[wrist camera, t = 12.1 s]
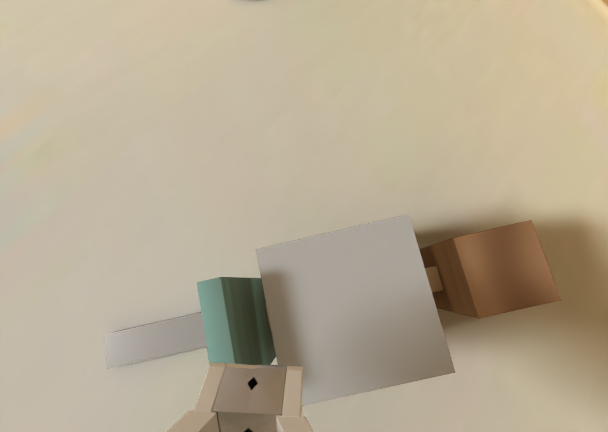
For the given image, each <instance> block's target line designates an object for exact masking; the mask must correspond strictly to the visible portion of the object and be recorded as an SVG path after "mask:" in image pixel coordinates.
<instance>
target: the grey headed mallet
mask: <svg viewBox="0 0 608 432" xmlns="http://www.w3.org/2000/svg"><path fill="white" fill-rule="evenodd" d="M256 253H257V258H258V263H259V269H260V274H261V279H262V284H263V289H264V295H265V300H266V305H267V310H268V315H269V321H270V326H271V331H272V336H273V341H274V347H275V352H276V357H277V362H278V365H285V366H300V367H303V390H302V406H303V405H308V404H312V403H317V402H322V401H326V400H331V399H335V398H340V397H345V396H349V395H354V394H358V393H363V392H368V391H372V390H377V389H381V388H386V387H390V386H395V385H400V384H404V383H409V382H413V381H418V380H423V379H427V378H432V377H436V376H441V375H446V374H450V373H455V369H454V366H453V363H452V359H451V356H450V352H449V349H448V346H447V342H446V339H445V335H444V332H443V329H442V325H441V322H440V318H439V315H438V312H437V308H436V305H435V301H434V298H433V295H432V291H431V288H430V284H429V281H428V278H427V274H426V271H425V267H424V264H423V261H422V257H421V254H420V250H419V247H418V244H417V240H416V237H415V233H414V230H413V226H412V223H411V220H410V216H409V214H407V215H403V216H398V217H394V218H390V219H385V220H381V221H377V222H372V223H368V224H364V225H359V226H355V227H351V228H346V229H342V230H337V231H333V232H329V233H324V234H320V235H316V236H311V237H307V238H303V239H298V240H294V241H290V242H285V243H281V244H277V245H272V246H268V247H264V248H259V249H256ZM104 344H105V354H106V365H107V369H109V368H114V367H118V366H123V365H127V364H131V363H136V362H140V361H145V360H149V359H154V358H158V357H163V356H167V355H172V354H176V353H181V352H185V351H190V350H194V349H198V348H203V347H207V345H206V338H205V331H204V325H203V318H202V312H201V313H196V314H192V315H187V316H183V317H179V318H174V319H170V320H165V321H161V322H156V323H152V324H148V325H143V326H139V327H134V328H130V329H126V330H121V331H117V332H112V333H108V334H104Z"/></svg>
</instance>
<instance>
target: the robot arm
mask: <svg viewBox="0 0 608 432" xmlns="http://www.w3.org/2000/svg"><path fill="white" fill-rule="evenodd" d="M302 390H303V367H300V366H285V365H245V364H232V363H215V362H212V363H211V364H210V366H209V367H208V370H207V373H206V376H205V379H204V382H203V385H202V387H201V390H200V393H199V396H198V399H197V402H196V405H195V407H194V410H193V411H188V412H187V413H186V414H185V415H184V416H183V417H182V418H181V419H180V420H179V421H178V422H176V423H175V424H174V425H173V426H172V427H171V428H170V429H169V430H168V431H167V432H313V430H312V428H311V426H310V425H309V423H308V421H307V419H306V417H302Z"/></svg>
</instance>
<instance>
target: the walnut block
mask: <svg viewBox="0 0 608 432" xmlns="http://www.w3.org/2000/svg"><path fill="white" fill-rule="evenodd" d="M419 250H420V254H421V257H422V261H423V264H424V267H425V268H428V267H436V266H437V270H438V273H439V276H440V280H441V283H442V286H443V290H441V291H437V292H432V295H433V298H434V301H435V305H436V308H440V309H444V310H448V311H452V312H456V313H460V314H464V315H468V316H472V317H476V318H483V317H487V316H491V315H496V314H500V313H505V312H509V311H514V310H518V309H523V308H527V307H532V306H536V305H541V304H545V303H550V302H554V301H558V300H561V298H560V296H559V293H558V290H557V288H556V285H555V282H554V279H553V277H552V274H551V271H550V269H549V266H548V263H547V261H546V258H545V255H544V253H543V250H542V247H541V245H540V242H539V239H538V237H537V234H536V231H535V229H534V226H533V223H532V220H530V221H525V222H521V223H516V224H512V225H508V226H503V227H499V228H495V229H490V230H486V231H482V232H477V233H473V234H469V235H464V236H460V237H456V238H452V239H449V240H446V241H443V242H440V243H437V244H434V245H431V246H428V247H425V248H422V249H419Z"/></svg>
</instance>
